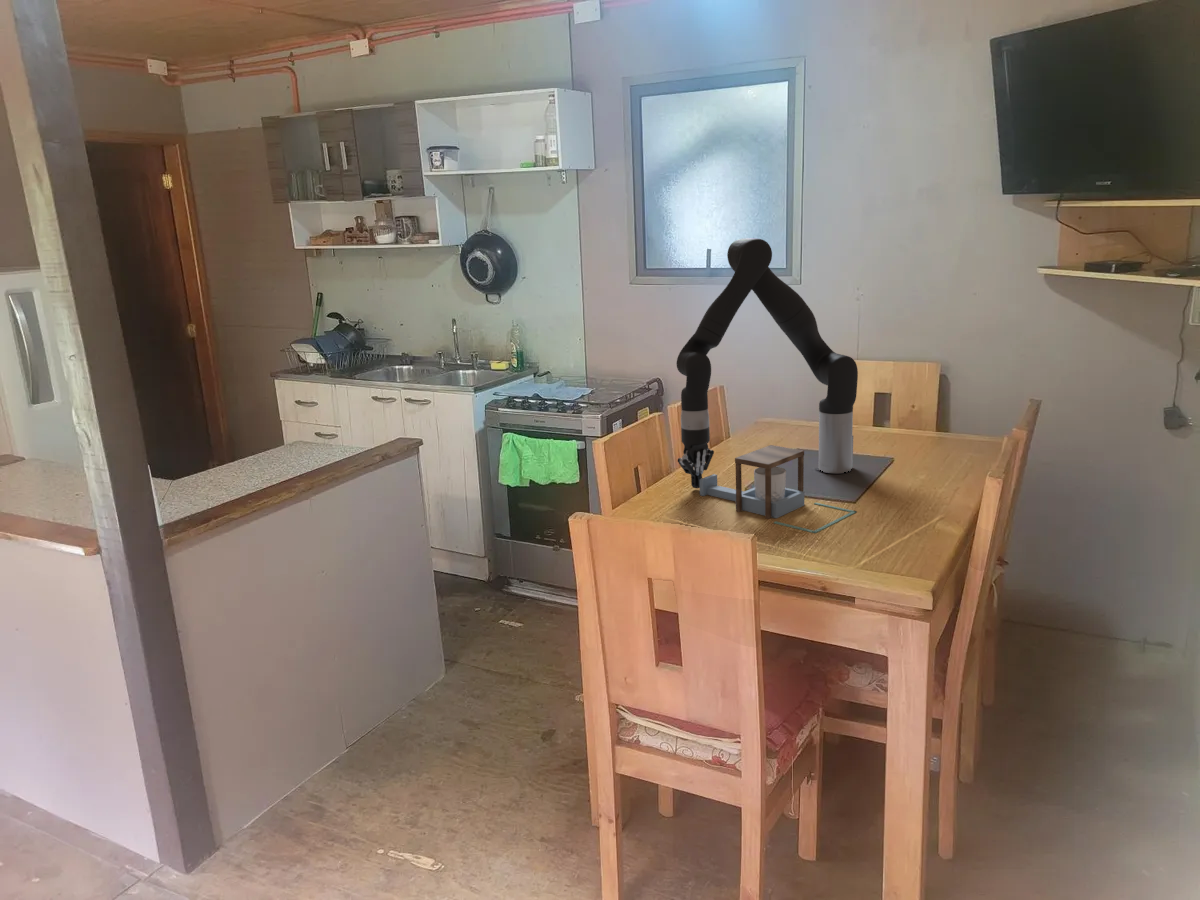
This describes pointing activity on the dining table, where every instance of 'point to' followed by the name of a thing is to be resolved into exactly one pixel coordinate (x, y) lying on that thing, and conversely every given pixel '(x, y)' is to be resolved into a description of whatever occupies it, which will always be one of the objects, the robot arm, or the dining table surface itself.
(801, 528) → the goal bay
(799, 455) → the small brown wooden table
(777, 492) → the white cup
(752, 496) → the sled frame
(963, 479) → the dining table surface
